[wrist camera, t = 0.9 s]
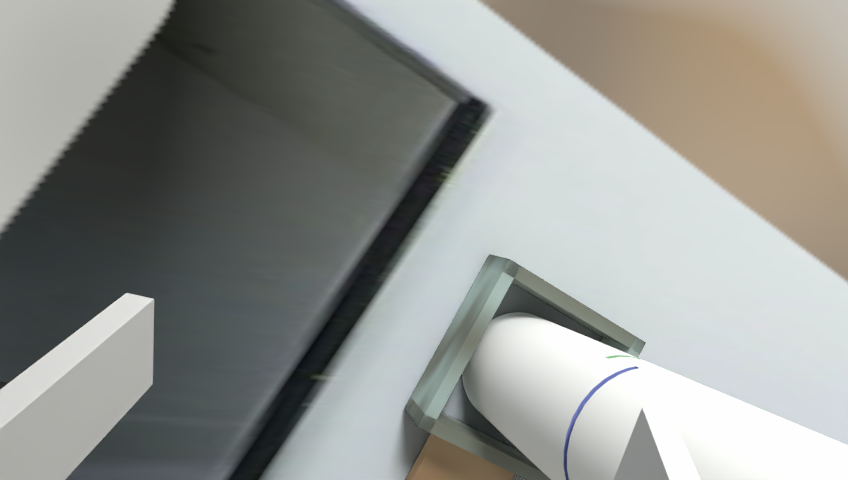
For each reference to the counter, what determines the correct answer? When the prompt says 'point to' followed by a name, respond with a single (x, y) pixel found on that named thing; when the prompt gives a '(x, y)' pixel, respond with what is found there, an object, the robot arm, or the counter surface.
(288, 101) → the counter surface
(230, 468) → the counter surface
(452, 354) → the holder stand
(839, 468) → the cylindrical container
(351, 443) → the counter surface
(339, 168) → the counter surface
